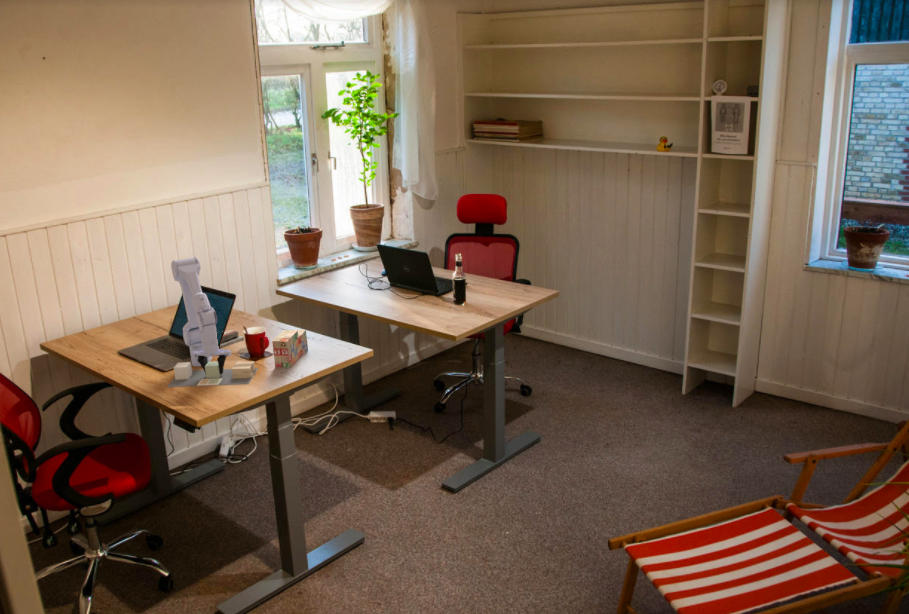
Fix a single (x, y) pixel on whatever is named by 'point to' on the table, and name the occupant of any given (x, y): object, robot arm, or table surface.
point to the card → (209, 382)
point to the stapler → (230, 338)
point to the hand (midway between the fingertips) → (214, 373)
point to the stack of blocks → (289, 347)
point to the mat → (200, 374)
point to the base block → (243, 369)
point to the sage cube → (212, 370)
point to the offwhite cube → (183, 370)
